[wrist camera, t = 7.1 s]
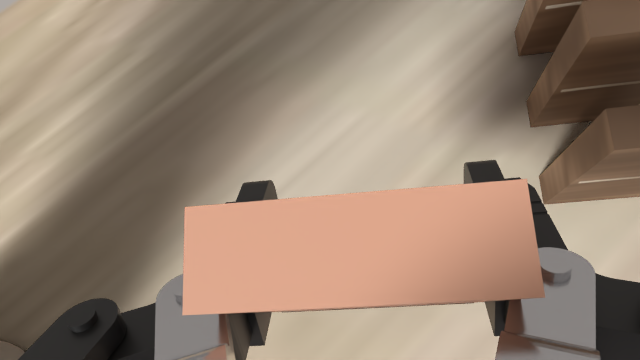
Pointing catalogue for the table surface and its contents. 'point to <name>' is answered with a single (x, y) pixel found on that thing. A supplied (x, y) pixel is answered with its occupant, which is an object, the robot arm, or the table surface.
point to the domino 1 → (363, 250)
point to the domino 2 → (544, 25)
